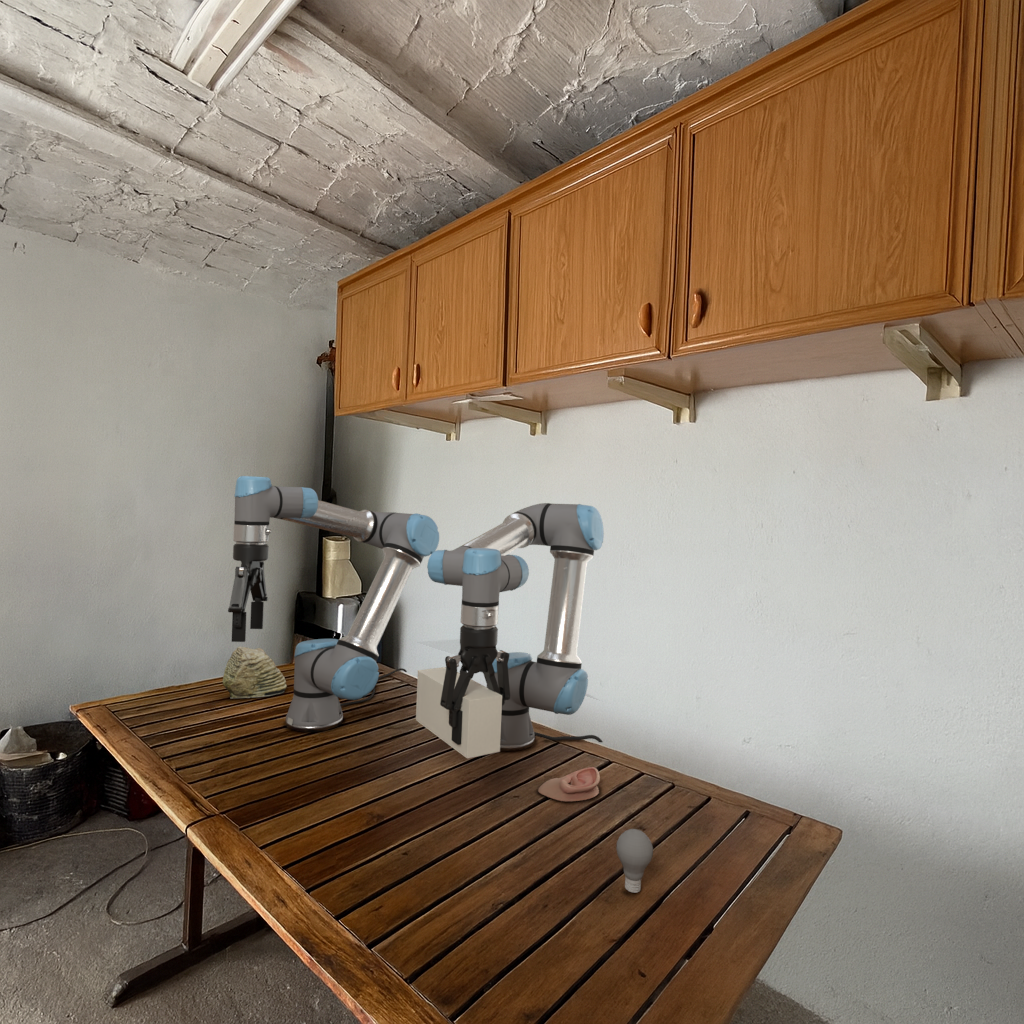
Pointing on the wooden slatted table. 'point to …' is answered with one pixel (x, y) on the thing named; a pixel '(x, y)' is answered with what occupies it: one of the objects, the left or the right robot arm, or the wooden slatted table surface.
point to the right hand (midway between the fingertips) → (474, 738)
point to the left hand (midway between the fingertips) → (247, 635)
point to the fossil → (252, 674)
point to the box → (476, 719)
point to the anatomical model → (573, 786)
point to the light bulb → (634, 857)
